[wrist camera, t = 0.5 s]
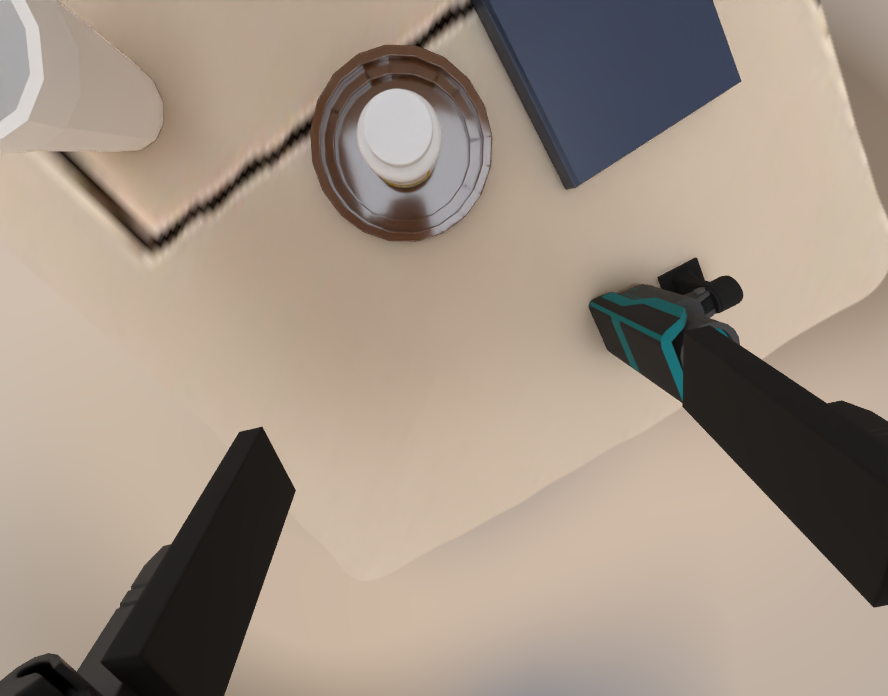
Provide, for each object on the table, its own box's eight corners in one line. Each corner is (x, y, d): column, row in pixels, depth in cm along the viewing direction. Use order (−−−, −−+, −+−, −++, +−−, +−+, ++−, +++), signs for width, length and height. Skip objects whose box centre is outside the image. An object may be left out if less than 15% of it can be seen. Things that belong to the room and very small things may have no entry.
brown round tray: (288, 86, 32) (281, 79, 31) (460, 29, 32) (463, 18, 30) (352, 260, 36) (349, 263, 35) (506, 211, 36) (511, 211, 34)
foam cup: (81, -1, 30) (-154, -153, 18) (206, 86, 32) (74, 3, 20) (31, 124, 32) (-212, 65, 20) (152, 198, 34) (0, 188, 22)
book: (435, -71, 30) (436, -92, 28) (613, -203, 29) (629, -236, 27) (565, 189, 36) (575, 187, 34) (721, 89, 34) (741, 81, 32)
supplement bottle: (392, 97, 33) (382, 50, 24) (451, 142, 34) (463, 114, 25) (355, 161, 34) (331, 139, 25) (413, 202, 35) (411, 197, 26)
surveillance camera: (832, 339, 28) (686, 410, 29) (711, 303, 39) (609, 355, 40) (811, 260, 26) (657, 338, 27) (691, 247, 38) (586, 302, 39)
